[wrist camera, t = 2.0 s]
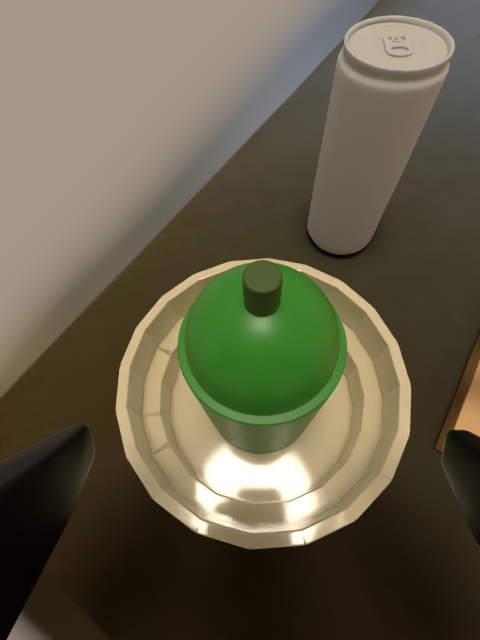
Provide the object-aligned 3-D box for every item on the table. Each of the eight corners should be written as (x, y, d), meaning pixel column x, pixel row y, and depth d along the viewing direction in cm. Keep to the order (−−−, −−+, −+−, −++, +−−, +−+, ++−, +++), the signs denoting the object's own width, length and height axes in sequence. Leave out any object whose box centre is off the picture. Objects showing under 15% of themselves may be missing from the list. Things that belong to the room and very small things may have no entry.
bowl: (403, 523, 17) (456, 534, 12) (141, 543, 17) (99, 561, 12) (347, 297, 23) (369, 249, 18) (154, 313, 23) (129, 269, 18)
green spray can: (319, 449, 18) (419, 381, 7) (210, 458, 18) (135, 404, 7) (302, 348, 21) (355, 181, 9) (207, 356, 21) (150, 198, 10)
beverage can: (368, 209, 26) (445, 12, 15) (375, 260, 24) (471, 71, 13) (304, 208, 26) (337, 15, 16) (306, 258, 24) (345, 73, 13)
